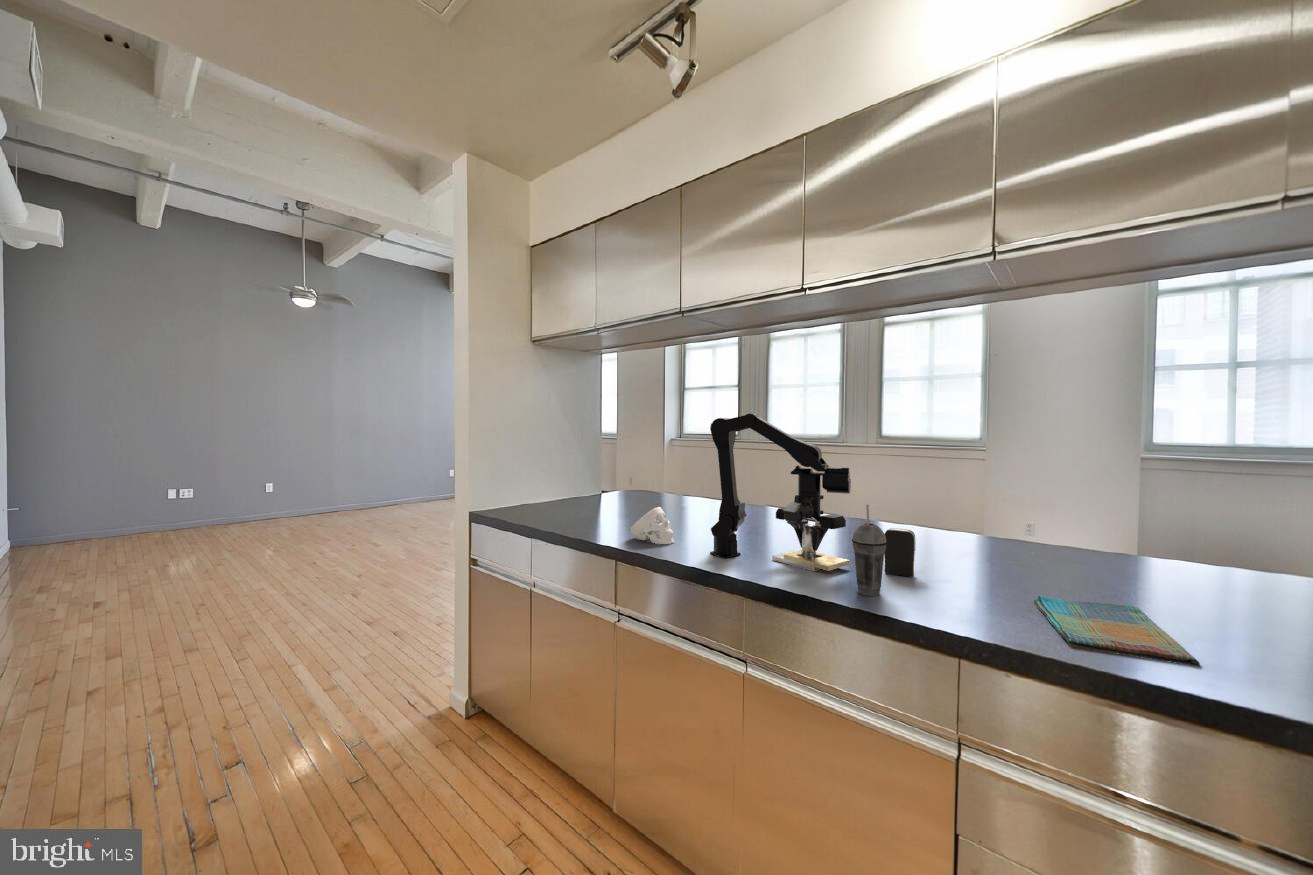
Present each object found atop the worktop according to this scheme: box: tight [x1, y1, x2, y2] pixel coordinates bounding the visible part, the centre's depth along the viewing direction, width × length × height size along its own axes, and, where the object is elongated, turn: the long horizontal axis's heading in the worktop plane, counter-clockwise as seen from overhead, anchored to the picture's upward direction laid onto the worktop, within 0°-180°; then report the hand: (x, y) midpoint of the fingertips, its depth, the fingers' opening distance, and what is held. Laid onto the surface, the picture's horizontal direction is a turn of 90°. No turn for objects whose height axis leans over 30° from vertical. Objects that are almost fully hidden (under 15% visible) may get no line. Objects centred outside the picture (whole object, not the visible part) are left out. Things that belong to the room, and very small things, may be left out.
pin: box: [801, 523, 817, 559], centre depth 135 cm, size 4×4×9 cm
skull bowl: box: [630, 506, 675, 545], centre depth 163 cm, size 10×14×12 cm
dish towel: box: [1033, 594, 1201, 667], centre depth 92 cm, size 17×23×2 cm
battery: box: [883, 527, 916, 578], centre depth 126 cm, size 7×4×11 cm, turn 55°
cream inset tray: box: [771, 549, 850, 573], centre depth 135 cm, size 18×9×2 cm, turn 36°
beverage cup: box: [851, 504, 887, 597], centre depth 112 cm, size 7×7×20 cm
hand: (809, 549), depth 135 cm, fingers closed on pin, 4 cm apart
